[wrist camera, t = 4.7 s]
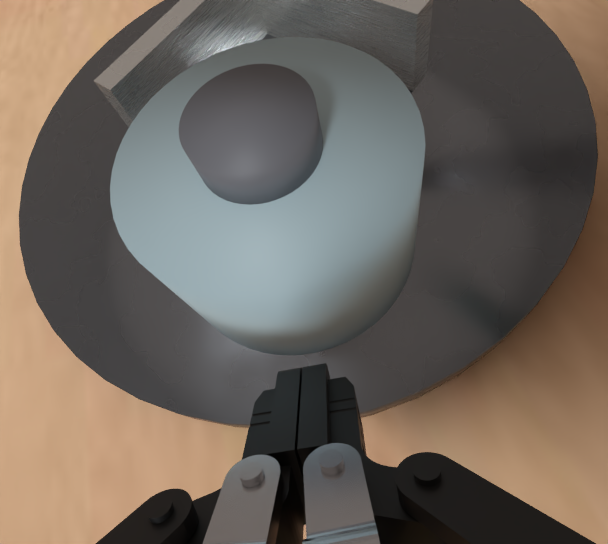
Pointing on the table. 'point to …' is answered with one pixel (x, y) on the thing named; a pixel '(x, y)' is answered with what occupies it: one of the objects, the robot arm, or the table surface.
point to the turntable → (432, 210)
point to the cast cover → (276, 191)
